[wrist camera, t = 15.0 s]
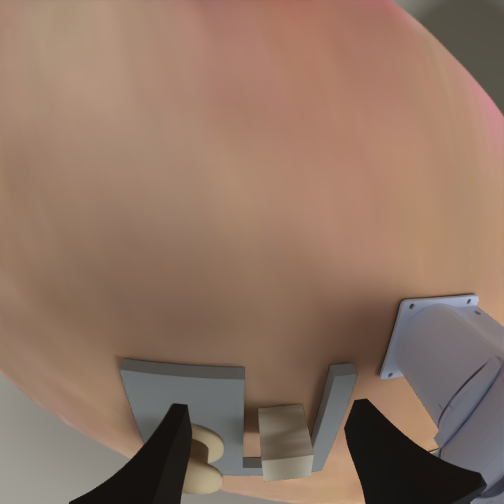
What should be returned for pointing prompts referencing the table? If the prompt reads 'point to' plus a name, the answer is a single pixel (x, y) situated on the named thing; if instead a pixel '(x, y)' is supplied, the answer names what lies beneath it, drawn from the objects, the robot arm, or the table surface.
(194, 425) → the spool
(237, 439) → the notched board
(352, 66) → the table surface
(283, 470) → the block
